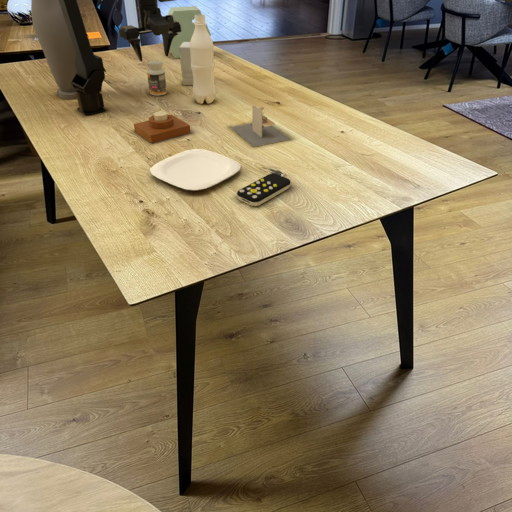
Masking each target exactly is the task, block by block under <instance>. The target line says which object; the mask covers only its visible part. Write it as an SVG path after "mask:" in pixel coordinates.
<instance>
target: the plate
mask: <svg viewBox="0 0 512 512" xmlns="http://www.w3.org/2000/svg"><path fill="white" fill-rule="evenodd" d="M241 169H242V165H241V164H240V163H239V162H238V161H237V160H235V159H233V158H231V157H228V156H226V155H223V154H220V153H218V152H215V151H212V150H208V149H202V148H192V149H185V150H184V151H180V152H178V153H175V154H172V155H171V156H169V157H167V158H165V159H162V160H160V161H158V162H157V163H155V164H153V165H152V167H150V169H149V172H150V174H151V176H153V177H155V178H156V179H158V180H159V181H161V182H164V183H166V184H168V185H170V186H173V187H175V188H176V189H177V188H178V189H181V190H184V191H191V192H199V191H203V190H207V189H210V188H213V187H214V186H215V187H216V186H218V185H219V184H220V183H223V182H225V181H227V180H228V179H230V178H231V177H234V175H236V174H237V173H239V172H240V170H241Z"/></svg>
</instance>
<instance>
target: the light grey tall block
mask: <svg viewBox="0 0 512 512" xmlns="http://www.w3.org/2000/svg"><path fill="white" fill-rule="evenodd" d="M179 51H180V58H179V59H180V69H181V79H182V86H193V72H192V68H191V53H190V42H183V43H182V44H181V46H180V47H179Z"/></svg>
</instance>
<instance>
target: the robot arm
mask: <svg viewBox="0 0 512 512" xmlns="http://www.w3.org/2000/svg"><path fill="white" fill-rule="evenodd" d="M174 1H176V0H137V7H136V12H138V14H139V21H138V26H139V27H137V26H133V25H131V24H130V25H129V24H128V25H122V26H120V27H119V29H118V34H119V37H120V38H122V39H124V40H126V41H128V43H129V45H130V46H131V47H132V49H133V51H134V53H135V55H136V56H137V59H138V60H139V62H143V54H142V49H141V48H142V47H141V41H142V39H141V38H139V37H140V35H143V34H150V33H152V34H153V35H154V36H157V37H158V36H161V37H162V39H161V40H162V45H163V52H164V55H165V57H169V54H170V52H171V51H170V46H171V43H172V40H173V38H174V37H175V36H176V35H178V33H177V32H181V25H180V23H179V22H177V21H174V19H173V16H172V15H168V14H165V15H162V13H161V12H162V11H161V7H159V6H158V5H159V4H158V2H160V3H165V2H166V3H167V2H174ZM59 3H60V6H61V9H62V12H63V16H64V19H65V22H66V25H67V28H68V31H69V34H70V37H71V40H72V43H73V46H74V49H75V53H76V56H75V67H76V74H75V76H74V77H73V79H72V81H71V84H72V86H73V88H75V89H77V90H76V96H77V98H76V100H77V105H78V107H77V110H78V111H79V112H80V113H82V114H83V115H84V116H89V115H93V114H98V113H103V112H106V108H105V103H104V98H103V93H101V92H102V88H103V83H104V80H105V79H106V74H105V73H106V72H107V70H106V68H105V66H104V61H103V57H101V56H99V55H96V54H95V53H94V52H93V49H92V47H91V42H90V40H89V35H88V32H87V30H86V26H85V24H84V23H85V22H84V18H83V16H82V13H81V10H80V7H79V3H78V0H59Z"/></svg>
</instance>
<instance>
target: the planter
mask: <svg viewBox="0 0 512 512" xmlns="http://www.w3.org/2000/svg"><path fill="white" fill-rule="evenodd" d="M198 14H202V15H203V13H202V11H201V9H200V8H199V7H197V6H195V5H193V6H192V5H191V6H173V7H172V6H171V7H170V8H169V10H168V13H167V15H172V16H173V19H174V21H177V22H179V23H180V25H181V32H177V33H178V35H176V36H175V37H174V38H173V40H172V43H171V46H170V51H169V52H170V53H171V55H172V56H173V58H174V59H180V51H179V47H180V46H181V44H182V43H183V42H190V40H191V38H192V35H193V33H194V30H195V25H194V23H195V22H193V21H195V15H198ZM205 23H206V29H207V32H208V33H209V35H210V37H211V36H212V34H211V33H212V32H211V31H210V29H209V27H208V24H207V21H206V22H205Z"/></svg>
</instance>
